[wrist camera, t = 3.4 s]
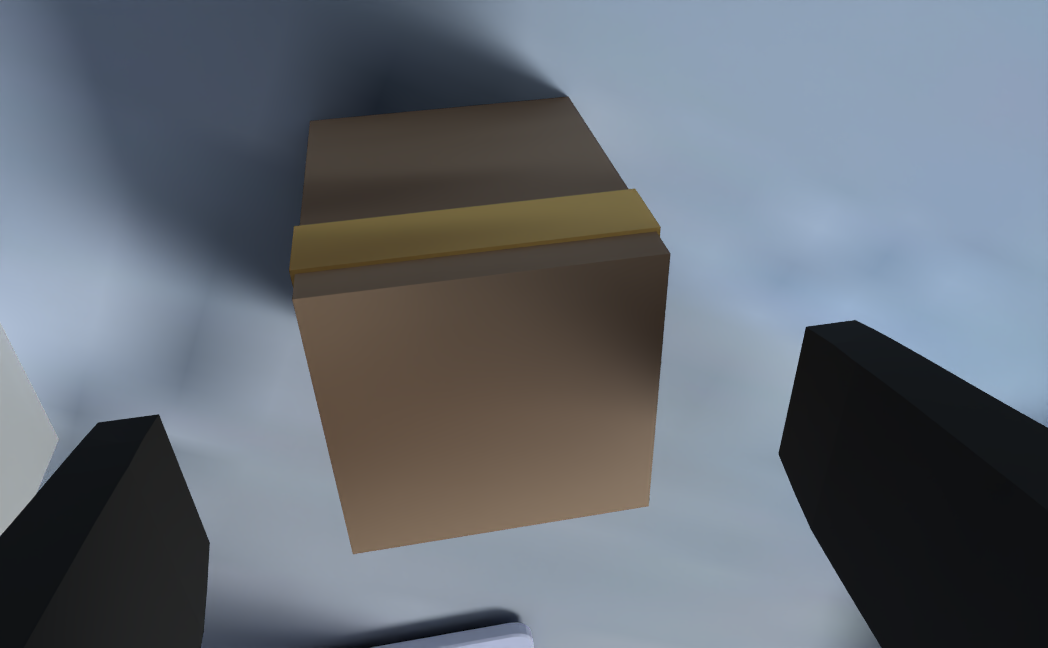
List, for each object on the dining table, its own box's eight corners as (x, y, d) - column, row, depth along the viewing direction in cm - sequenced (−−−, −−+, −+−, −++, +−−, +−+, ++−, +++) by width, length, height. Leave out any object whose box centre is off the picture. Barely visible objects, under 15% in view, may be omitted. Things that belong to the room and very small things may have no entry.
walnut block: (570, 307, 15) (651, 507, 11) (348, 336, 15) (349, 557, 11) (570, 92, 13) (675, 248, 9) (305, 117, 12) (286, 296, 8)
